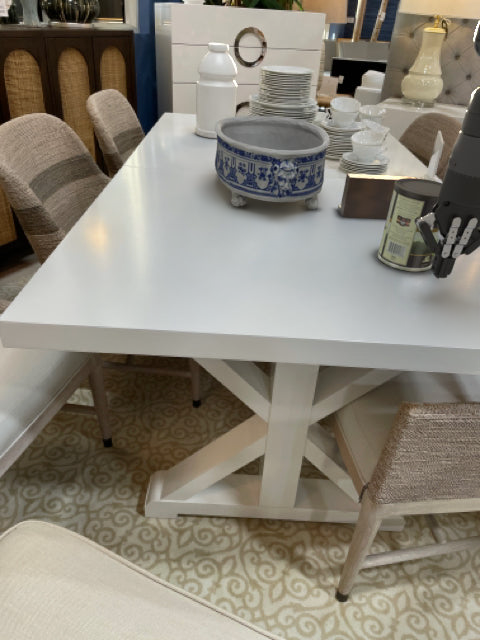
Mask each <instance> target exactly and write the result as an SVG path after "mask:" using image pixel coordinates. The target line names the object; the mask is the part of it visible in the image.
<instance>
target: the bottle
mask: <svg viewBox="0 0 480 640" xmlns="http://www.w3.org/2000/svg"><path fill="white" fill-rule="evenodd" d="M207 50H209V51H208V52H207V53H206V54H205V55H204V57H202V59H201V61H200V62H199V66H198V68H197V73H198V74H199V75H200V78H199V79H198V80H197V81H196V84H195V85H196V86H195V87H196V88H195V89H196V90H195V92H196V93H195V94H196V97H195V98H196V100H195V101H196V103H195V133H196V135H197V136H200V137H201V138H207V139H215V140H217V134H216V132H215V125H216V123H217V122H218V121H219V120H221V119H224V118H228V117H235V116H236V115H237V114H236V113H237V99H238V88H239V86H238V84H237V82H236V80H235V78H236V76H237V75H238V70H237V66H236V63H235V62H234V59H233V58H232V56H231V55H230V54H229V51H230V46H229V44H227V43H221V42H210V43H208V45H207Z"/></svg>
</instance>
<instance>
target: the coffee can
mask: <svg viewBox="0 0 480 640" xmlns="http://www.w3.org/2000/svg"><path fill="white" fill-rule="evenodd" d="M441 185H442V182H439V181H435V180H430V179H425V178H418V177H417V178H404V179H399V180H397V181H395V184H394V191H393V195H392V199H391V203H390V208H389V212H388V216H387V219H385V224H384V229H383V232H382V237H381V241H380V244H379V249H378V252H377V258H378V259H379V260H380V262H382V263H383V264H385V265H387V266H389V267H391V268H394V269H397V270H401V271H406V272H426V271H428V270H431V266H432V263H433V260H434V257H435V254H434V253H432V252H431V250H430V249H429V248H428V247H427V246H426V244H425V242H424V240H423V238H422V236H421V234H420V232H419V230H418V228H417V226H416V224H415V222H414V221H415V219H416V218H417V217H422V218H423V217H425V216H427V215H428V214H430V213H432V208H433V207H434V205H435V204H436V203H437V201H438V199H439V192H440V189H441ZM431 231H432V233H433V235H434V238H435V240H436V242H437V240H438V236H437V234H438V228H437V225H436V223H435V221H434V227H433V230H431Z"/></svg>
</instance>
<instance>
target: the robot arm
mask: <svg viewBox="0 0 480 640" xmlns="http://www.w3.org/2000/svg"><path fill="white" fill-rule="evenodd" d="M473 49H474V52H475V54H476V56H477V57H478V58H479V59H480V21H478V24H477V26H476V29H475V32H474V37H473ZM441 183H442V185H441V189H440V192H439V199H438V201H437V203H436V204H435V205H434V207H433V208H432V213H430V214H428V215H427V216H425V217H423V218H422V217H417V218H416V219H415V221H414V222H415V224H416V226H417V228H418V230H419V232H420V234H421V236H422V238H423V240H424V242H425V244H426V246H427V247H428V248H429V249H430V250H431V252H432V253H434V254H435V257H434V260H433V263H432V266H431V268H430V270H431V272H432V274H433V276H434V277H435V278H436V279H447V278H448V276H450V275H451V274H452V271H453V269H454V266H455V264H456V263H455V262H456V260H457V259H458V258H460V257H461V256H462V255H465V256H469V255H471V254H472V253H474V252H475V251H476V250H477V249H479V248H480V86H479V87H477V88H476V89H475V90H474V91H473V92H472V93H471V96H470V98H469V101H468V104H467V107H466V111H465V114H464V117H463V120H462V124H461V127H460V131H459V132H458V135H457V138H456V140H455V142H454V145H453V147H452V150H451V153H450V156H449V158H448V162H447V166H446V169H445V172H444V176H443V179H442V182H441ZM434 221H435V223H436V225H437V228H438V234H437V236H438V240H437V242H436V240H435V238H434V235H433V233H432V231H431V230H433V227H434Z"/></svg>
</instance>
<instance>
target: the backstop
mask: <svg viewBox="0 0 480 640" xmlns="http://www.w3.org/2000/svg"><path fill="white" fill-rule="evenodd" d="M404 178H418V177H417V176H403V175H402V176H401V175H383V174H382V175H381V174H365V173H362V174H361V173H346V177H345V181H344V186H343V192H342V197H341V202H340V205H339V204H338V205H337V211H338V212H339V214H340V216H341V217H342V218H355V219H356V218H357V219H376V220H377V219H378V220H379V219H381V220H387V216H388V212H389V208H390V203H391V199H392V195H393V191H394V184H395V181H397V180H399V179H404Z"/></svg>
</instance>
